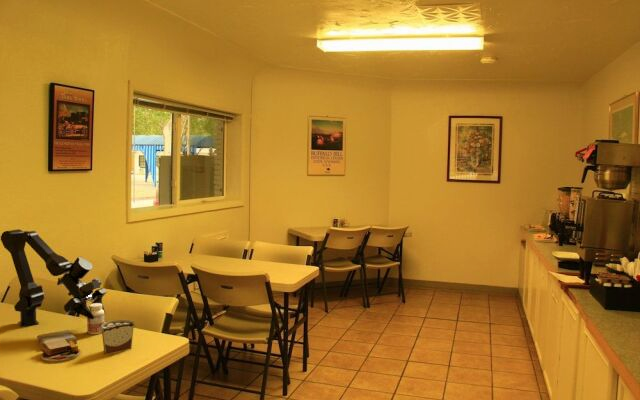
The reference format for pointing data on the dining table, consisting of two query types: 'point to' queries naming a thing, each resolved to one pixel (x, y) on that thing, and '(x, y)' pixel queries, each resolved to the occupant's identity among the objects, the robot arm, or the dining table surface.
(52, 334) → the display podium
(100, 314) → the pill bottle
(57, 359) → the toy sandwich meal
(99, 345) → the dining table surface
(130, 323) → the food container
